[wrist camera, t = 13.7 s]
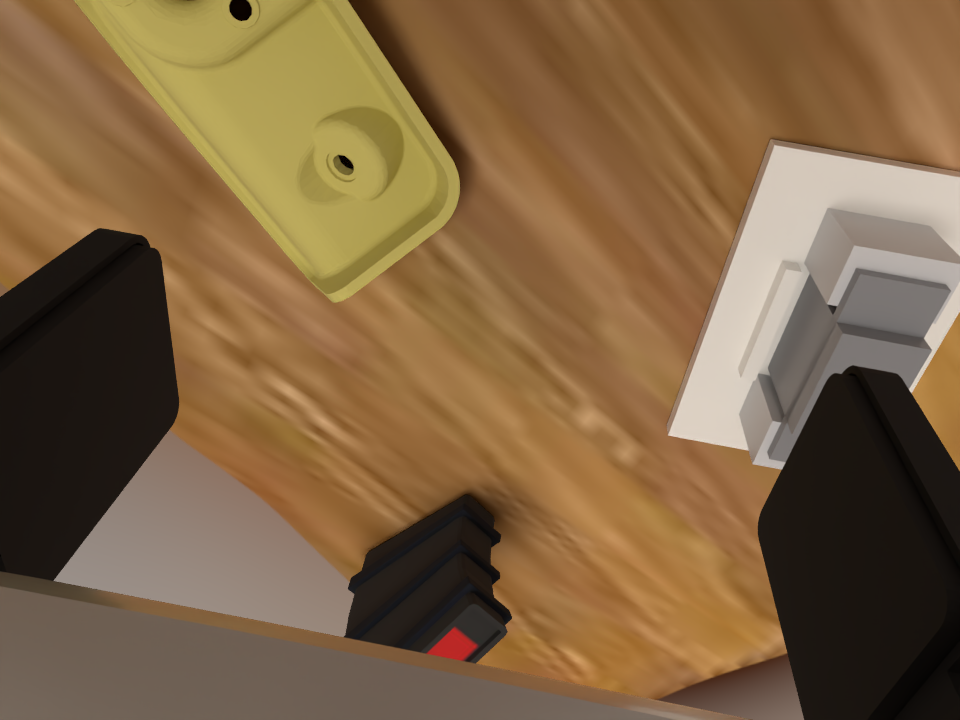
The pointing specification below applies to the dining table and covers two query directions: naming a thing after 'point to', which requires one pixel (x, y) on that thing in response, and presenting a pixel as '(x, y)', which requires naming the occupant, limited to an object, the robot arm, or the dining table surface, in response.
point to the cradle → (831, 262)
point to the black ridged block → (433, 587)
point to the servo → (850, 341)
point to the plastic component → (295, 125)
